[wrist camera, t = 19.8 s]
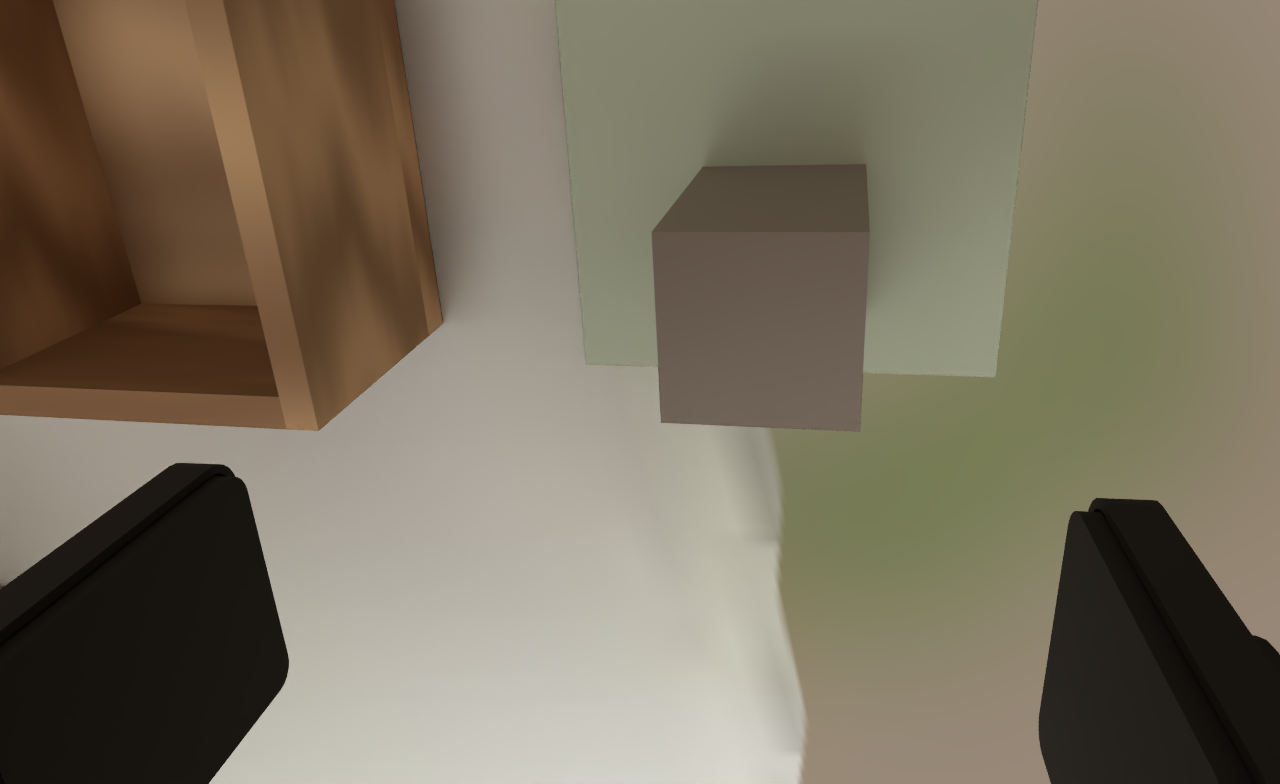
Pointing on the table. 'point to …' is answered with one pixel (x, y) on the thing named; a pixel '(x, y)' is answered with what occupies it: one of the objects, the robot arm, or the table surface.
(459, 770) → the table surface
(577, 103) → the lid
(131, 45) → the brown wooden open box
